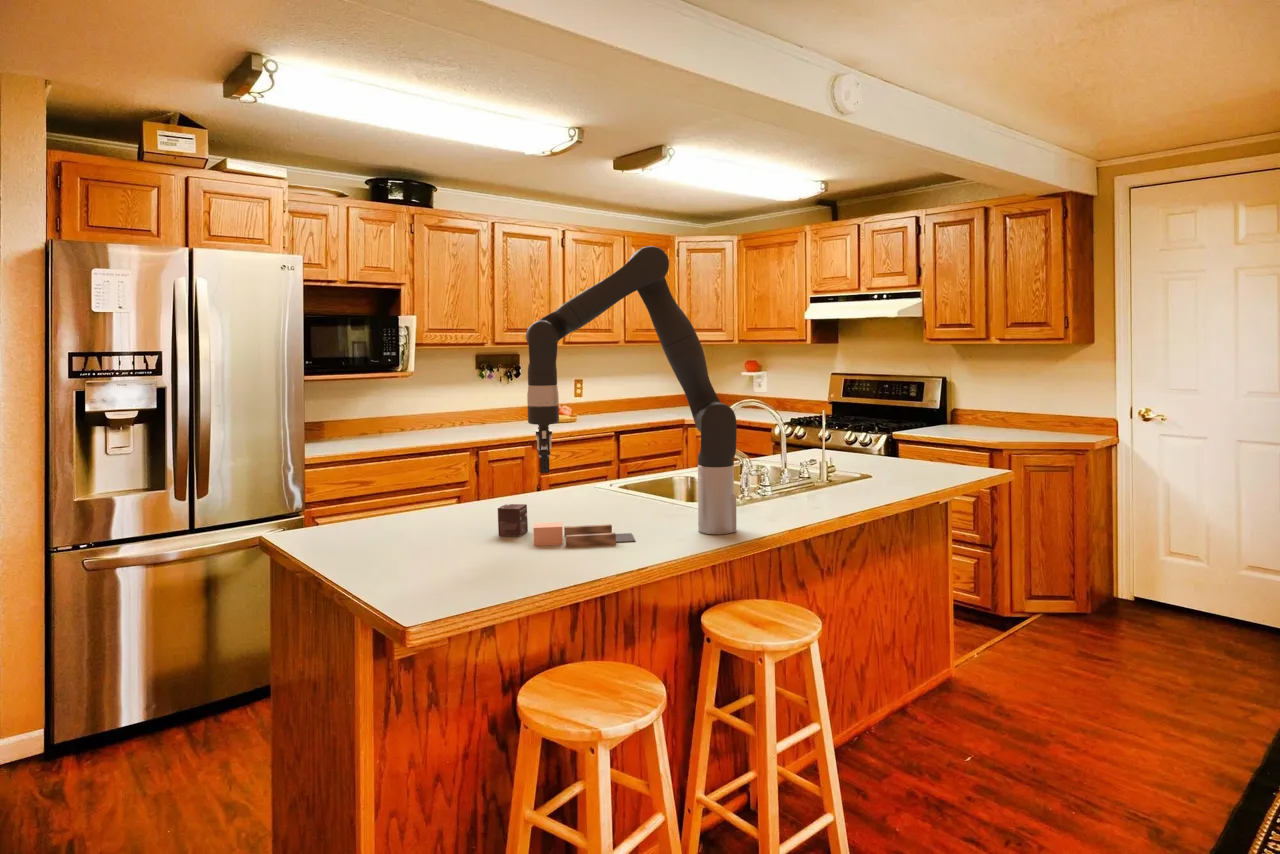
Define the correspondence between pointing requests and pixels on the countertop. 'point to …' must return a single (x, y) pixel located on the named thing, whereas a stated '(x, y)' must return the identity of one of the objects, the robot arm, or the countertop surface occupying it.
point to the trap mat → (624, 538)
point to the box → (512, 520)
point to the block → (548, 533)
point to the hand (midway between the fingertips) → (544, 470)
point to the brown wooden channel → (589, 535)
